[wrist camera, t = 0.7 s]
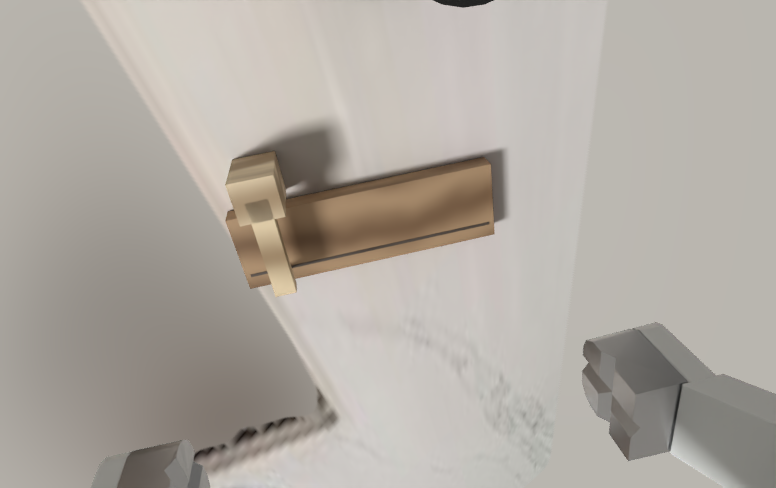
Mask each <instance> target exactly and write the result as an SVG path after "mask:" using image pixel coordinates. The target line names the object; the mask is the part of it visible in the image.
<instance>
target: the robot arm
mask: <svg viewBox="0 0 776 488" xmlns="http://www.w3.org/2000/svg"><path fill="white" fill-rule="evenodd" d="M583 356H584V357H585V358H586V360H587V361H588V362H589V363H588V364H587V366H586V367H585V368H584V369H583V371H582V382H583V387H584V391H585V395H586V397H587V400H588V401H589V403H590V406H591V407H592V409H593V410H594V412H595V413H596V415H597V416H598V417H600V418H602V419H604V420H606V421H608V422H610V428H609V434H610V435H611V437H612V438H613V440H614V441H615V443H616V444H617V445H618V447H619V448H620V450H621V451H622V453H623V454H624V456H625V457H626V458H627V460H628V461H630V460H635V459H639V458H643V457H648V456H652V455H656V454H660V453H665V452H669V451H671V452H670V454H672V455H673V456H675V457H677V458H678V459H680V460H681V461H683V462H684V463H686V464H688V465H689V466H691V467H692V468H694V469H696V470H697V471H699V472H700V473H702V474H704V475H705V476H707V477H708V478H710V479H712V480H713V481H715V482H716V483H718V484H719V485H721V486H723V487H724V488H776V394H774V393H772V392H769V391H767V390H764V389H761V388H759V387H756V386H753V385H751V384H748V383H745V382H743V381H740V380H738V379H735V378H732V377H730V376H727V375H725V374H721V375H717V376H716V375H715V374H714V373H713V372H712V371H711V370H710V369H709V368H708V367H706V366H705V365H704V364H703V363H702V362H701V361H700V360H699V359H698V358H697V357H696V356H695V355H694V354H693V353H692V352H690V350H689V349H687V347H685V346H684V345H683V344H682V343H681V342H680V341H679V340H678V339H677V338H676V337H675V336H674V335H673V334H672V333H671V332H670V331H668V329H666V328H665V327H664V326H663V325H662V324H659V323H657V322H655V323H651V324H647V325H644V326H640V327H636V328H633V329H628V330H624V331H620V332H616V333H612V334H608V335H604V336H601V337H597V338H593V339H589V340H586V342H585V344H584V348H583ZM194 453H195V451H194V449H193V447H192V446H191V444H190V442H189V441H188V440H180V441H176V442H171V443H167V444H162V445H158V446H154V447H149V448H144V449H139V450H135V451H132V452H128V453H124V454H119V455H115V456H111V457H106V458H105V459H104V460H103V461H102V462H101V464H100V465H99V467H98V470H97V472H96V475H95V477H94V480H93V482H92V485H91V488H210V483H209V480H208V476H207V473H206V471H205V469H204V467H203V466H202V465H200V464H197V463H195V462H193V458H194Z"/></svg>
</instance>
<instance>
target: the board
mask: <svg viewBox="0 0 776 488" xmlns="http://www.w3.org/2000/svg"><path fill="white" fill-rule="evenodd" d="M277 221H278V225H279V228H280V231H281V234H282V238H283V241H284V244H285V248H286V251H287V254H288V258H289V261H290V264H291V267H292V271H293V274H294V277H295V279H296V278H301V277H305V276H310V275H314V274H318V273H323V272H327V271H332V270H336V269H341V268H345V267H350V266H354V265H359V264H363V263H368V262H372V261H377V260H381V259H385V258H390V257H394V256H399V255H403V254H408V253H412V252H417V251H421V250H426V249H430V248H435V247H439V246H444V245H448V244H452V243H457V242H461V241H466V240H470V239H475V238H479V237H484V236H488V235H493V234H494V216H493V197H492V177H491V164H490V163H489V162H488V161H487V160H486V159H485V158H484V157H482V158H477V159H473V160H468V161H463V162H459V163H454V164H449V165H444V166H440V167H435V168H430V169H426V170H421V171H416V172H412V173H407V174H402V175H398V176H393V177H388V178H383V179H379V180H374V181H369V182H365V183H360V184H355V185H351V186H346V187H341V188H336V189H332V190H327V191H322V192H318V193H313V194H308V195H304V196H299V197H294V198H289V199H286V217H283V218H278V219H277ZM226 223H227V226H228V229H229V232H230V234H231V237H232V240H233V243H234V245H235V248H236V251H237V254H238V256H239V259H240V262H241V264H242V267H243V270H244V273H245V275H246V278H247V281H248V283H249V286H250V288H256V287H260V286H265V285H269V284H271V281H270V278H269V275H268V272H267V269H266V266H265V263H264V260H263V257H262V254H261V251H260V248H259V245H258V242H257V239H256V236H255V233H254V230H253V228H252V225H251V224H250V225H245V226H241V227H240V225H239V223H238V220H237V217H236V214H235V211H234V210H233V211H228V213H227V217H226Z"/></svg>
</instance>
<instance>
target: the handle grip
mask: <svg viewBox="0 0 776 488" xmlns="http://www.w3.org/2000/svg"><path fill="white" fill-rule="evenodd" d="M434 1H436V2H438V3H440V4H443V5H450V6H456V7H470V6H477V5H483V4H486V3H489V2H491V1H493V0H434Z"/></svg>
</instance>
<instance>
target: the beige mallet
mask: <svg viewBox="0 0 776 488" xmlns="http://www.w3.org/2000/svg"><path fill="white" fill-rule="evenodd" d="M225 185H226V188H227V191H228V194H229V197H230V200H231V203H232V205H233V208H234V211H235V214H236V217H237V220H238V223H239V225H240V227H241V226H245V225H250V224H251V225H252V228H253V230H254V233H255V236H256V239H257V242H258V245H259V248H260V251H261V254H262V257H263V260H264V263H265V266H266V269H267V272H268V275H269V278H270V281H271V284H272V287H273V290H274V293H275V296H276V297H278V296H282V295H287V294H291V293H296V292H297V287H296V281H295V277H294V274H293V271H292V267H291V264H290V261H289V258H288V254H287V251H286V248H285V244H284V241H283V238H282V234H281V231H280V228H279V225H278V221H277V219H278V218H283V217H286V188H285V184H284V181H283V177H282V174H281V170H280V167H279V163H278V160H277V156H276V153H275V151H272V152H267V153H262V154H257V155H252V156H247V157H243V158H238V159H233V160H232V163H231V166H230V170H229V173H228V177H227V181H226V184H225Z"/></svg>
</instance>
